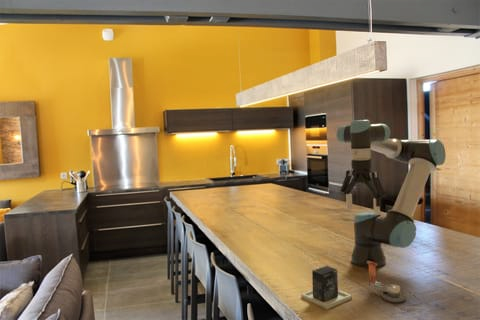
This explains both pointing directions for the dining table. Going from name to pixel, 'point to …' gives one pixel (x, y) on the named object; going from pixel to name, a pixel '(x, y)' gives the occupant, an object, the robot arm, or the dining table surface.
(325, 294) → the box
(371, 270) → the crank
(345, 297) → the tray
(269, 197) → the dining table surface
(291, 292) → the dining table surface
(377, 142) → the robot arm
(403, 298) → the crank base
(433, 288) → the dining table surface
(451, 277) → the dining table surface
